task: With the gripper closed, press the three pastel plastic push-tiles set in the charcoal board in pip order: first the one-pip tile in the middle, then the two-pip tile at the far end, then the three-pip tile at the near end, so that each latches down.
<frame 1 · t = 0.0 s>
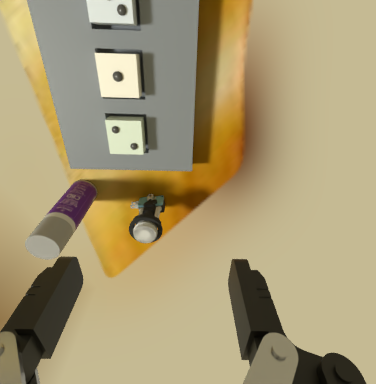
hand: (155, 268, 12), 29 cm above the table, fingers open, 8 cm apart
container: (85, 189, 44), on the table
button board: (126, 73, 33), on the table
push button: (149, 199, 45), on the table
tile two pips: (126, 135, 34), point 4 cm above the table, slide at 0.0 cm
tile one pip: (120, 75, 30), point 4 cm above the table, slide at 0.0 cm
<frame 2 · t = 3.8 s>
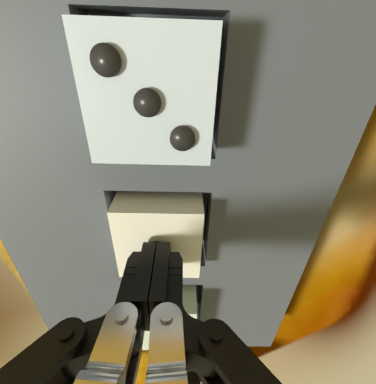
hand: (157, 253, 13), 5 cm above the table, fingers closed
button board: (163, 205, 17), on the table
push button: (184, 350, 28), on the table
tile two pips: (162, 318, 18), point 4 cm above the table, slide at 0.0 cm
tile one pip: (159, 235, 14), point 3 cm above the table, slide at 0.6 cm, touching gripper
tile three pips: (151, 97, 9), point 4 cm above the table, slide at 0.0 cm
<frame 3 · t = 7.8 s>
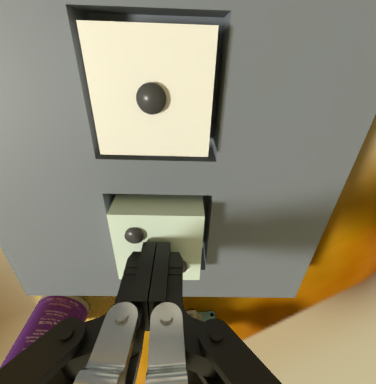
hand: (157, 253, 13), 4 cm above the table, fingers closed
container: (66, 303, 23), on the table
button board: (159, 87, 12), on the table
push button: (186, 315, 24), on the table
tile two pips: (159, 237, 14), point 3 cm above the table, slide at 0.7 cm, touching gripper
tile one pip: (154, 94, 10), point 2 cm above the table, slide at 1.3 cm
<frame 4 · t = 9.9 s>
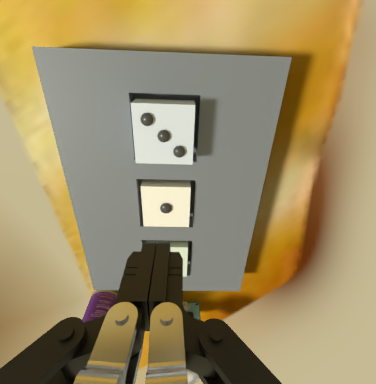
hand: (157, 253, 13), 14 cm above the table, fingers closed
container: (107, 297, 37), on the table
button board: (168, 191, 27), on the table
push button: (181, 305, 38), on the table
tile two pips: (167, 255, 29), point 2 cm above the table, slide at 1.3 cm
tile one pip: (166, 202, 25), point 2 cm above the table, slide at 1.3 cm
tile three pips: (164, 132, 20), point 4 cm above the table, slide at 0.0 cm
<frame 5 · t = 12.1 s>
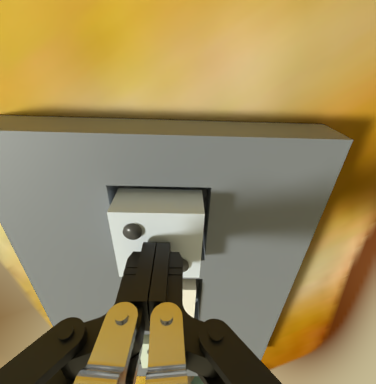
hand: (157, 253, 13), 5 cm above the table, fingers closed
button board: (166, 272, 21), on the table
push button: (183, 373, 33), on the table
tile two pips: (166, 344, 23), point 2 cm above the table, slide at 1.3 cm
tile one pip: (164, 296, 19), point 2 cm above the table, slide at 1.3 cm
tile three pips: (159, 235, 14), point 4 cm above the table, slide at 0.1 cm, touching gripper
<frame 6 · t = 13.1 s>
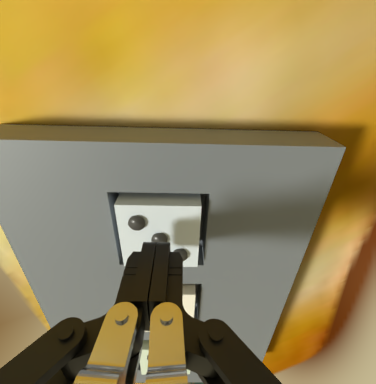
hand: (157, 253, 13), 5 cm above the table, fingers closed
button board: (166, 277, 22), on the table
push button: (183, 379, 33), on the table
tile two pips: (166, 350, 23), point 2 cm above the table, slide at 1.3 cm
tile one pip: (164, 301, 19), point 2 cm above the table, slide at 1.3 cm
tile three pips: (161, 227, 15), point 2 cm above the table, slide at 1.3 cm
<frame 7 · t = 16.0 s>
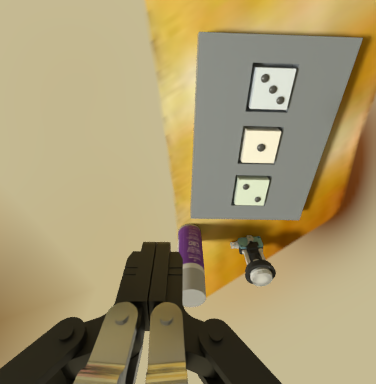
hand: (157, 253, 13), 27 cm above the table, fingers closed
container: (189, 231, 48), on the table
button board: (254, 139, 37), on the table
push button: (245, 239, 49), on the table
tile two pips: (250, 189, 39), point 2 cm above the table, slide at 1.3 cm
tile one pip: (258, 145, 35), point 2 cm above the table, slide at 1.3 cm
tile three pips: (269, 88, 31), point 2 cm above the table, slide at 1.3 cm
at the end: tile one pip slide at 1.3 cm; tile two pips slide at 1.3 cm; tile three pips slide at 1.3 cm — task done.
